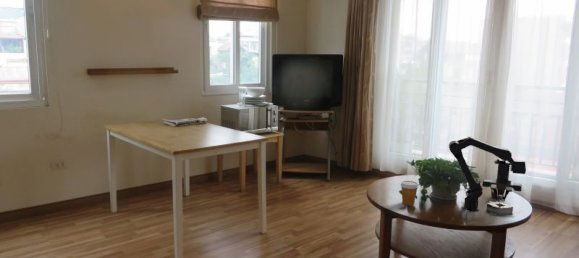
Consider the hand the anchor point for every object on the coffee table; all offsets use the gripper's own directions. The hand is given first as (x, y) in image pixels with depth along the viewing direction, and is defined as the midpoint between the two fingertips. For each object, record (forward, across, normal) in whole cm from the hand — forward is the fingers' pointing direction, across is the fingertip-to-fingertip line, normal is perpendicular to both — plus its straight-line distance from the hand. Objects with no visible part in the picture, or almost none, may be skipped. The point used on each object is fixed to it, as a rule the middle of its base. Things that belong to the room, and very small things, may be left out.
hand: (500, 200), depth 251 cm
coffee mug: (+6, -3, +28) cm, 29 cm away
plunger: (+4, 0, 0) cm, 4 cm away
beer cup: (+6, -46, -11) cm, 48 cm away
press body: (+6, -1, +1) cm, 6 cm away
